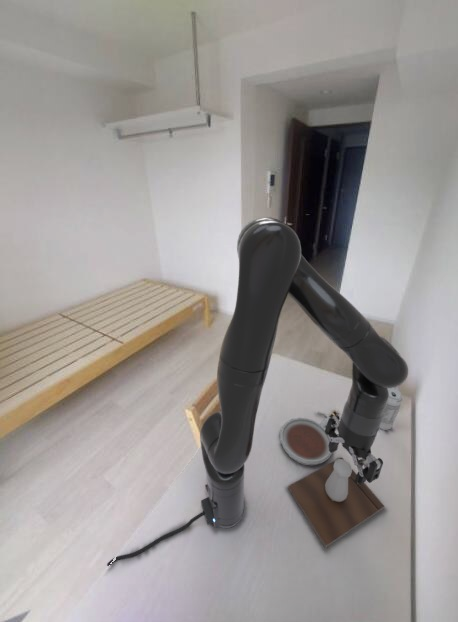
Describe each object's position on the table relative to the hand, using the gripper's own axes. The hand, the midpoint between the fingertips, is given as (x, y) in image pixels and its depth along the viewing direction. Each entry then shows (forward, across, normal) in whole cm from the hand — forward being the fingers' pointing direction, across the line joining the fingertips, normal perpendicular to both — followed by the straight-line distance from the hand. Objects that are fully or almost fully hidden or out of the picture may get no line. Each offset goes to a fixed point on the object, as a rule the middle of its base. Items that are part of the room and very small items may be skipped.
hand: (345, 465), depth 67 cm
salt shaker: (+14, -1, +1) cm, 14 cm away
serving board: (+16, 0, 0) cm, 16 cm away
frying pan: (+16, -19, +9) cm, 26 cm away
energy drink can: (+15, -12, +33) cm, 39 cm away
